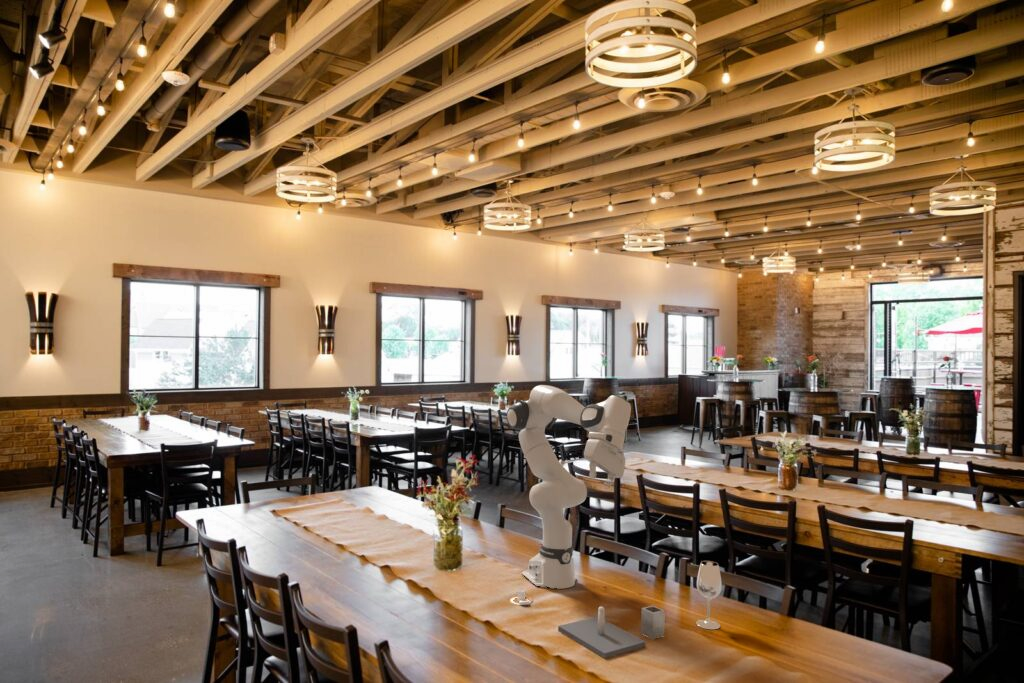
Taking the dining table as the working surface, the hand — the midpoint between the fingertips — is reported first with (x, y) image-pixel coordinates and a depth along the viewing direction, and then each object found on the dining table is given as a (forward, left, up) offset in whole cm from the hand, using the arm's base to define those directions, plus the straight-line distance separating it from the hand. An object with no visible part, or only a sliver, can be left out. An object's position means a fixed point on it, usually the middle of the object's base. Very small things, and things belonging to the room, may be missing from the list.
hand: (599, 482), depth 218 cm
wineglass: (+19, +32, -46) cm, 59 cm away
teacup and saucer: (-27, -13, -46) cm, 55 cm away
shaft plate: (+10, -6, -45) cm, 47 cm away
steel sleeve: (+16, +10, -45) cm, 49 cm away
